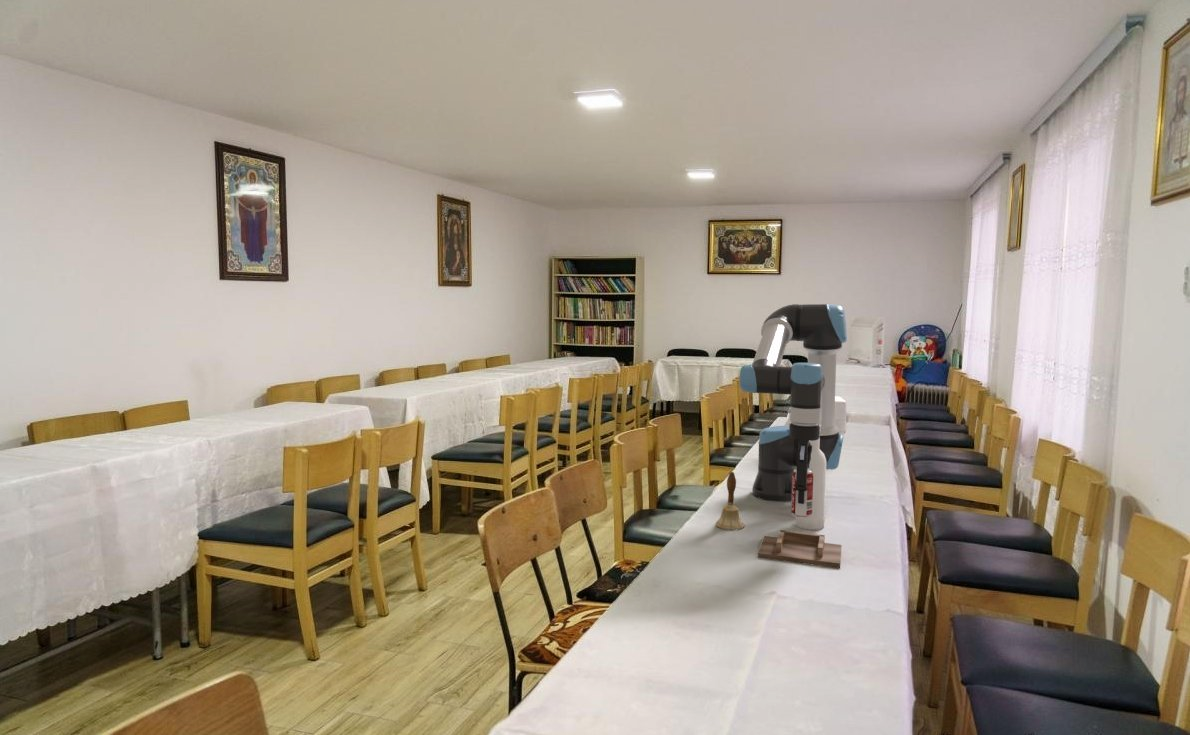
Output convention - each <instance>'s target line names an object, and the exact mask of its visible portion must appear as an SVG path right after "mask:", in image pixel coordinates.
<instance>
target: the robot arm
mask: <svg viewBox="0 0 1190 735" xmlns="http://www.w3.org/2000/svg"><path fill="white" fill-rule="evenodd" d="M847 332H848V331H847V322H846V315H845V310H844V308H843V306H841V305H837V304H828V303H822V304H821V303H819V304H815V303H814V304H808V303H806V304H805V303H804V304H798V303H796V304H795V303H794V304H793V303H792V304H788V305H784V306H782V307H780V308H779V309H776V310H775V311H773V312H772V313H771V314H770V315H769V316H768V317H767V318H765V320H764V322H763V324H762V326H761V331H760V334H761V337H760V338H761V339H760V341H759V344H758V347H757V349H756V352H755V356H754V358H753V361H752V363H751V364H749V365H748V364H747V365H746V364H744V365H741V368H740V370H739V388H740V390H741V391H742V392H746V393H753V394H774V395H776V394H777V395H790V404H789V409H787V414H789V413H791V414H790V421H791V422H792V423H791V424H790V425H789V426H784V425H777V426H775V425H774V426H769V427H765V428H763V429H762V430H760V432H759V438H758V439H759V440H758V443H757V444H758V461H757V462H758V468H757V470H758V471H757V474H756V477H755V479H754V481H753V484H752V488H751V489H752V490H751V491H752V492H751V493H752V496H753V497H756V498H758V499H761V500H766V501H770V502H771V501H772V502H773V501H774V502H791V501H792V473H793V472H794V468H797V472H796V487H795V488H793V490H796V505H795V515H800V516H806V512H807V470H808V468H809V464H810V460H811V452H812V445H811V444H810V443H809V440H811V441H814V440H818V439H819V437H820V443H819V449H820V450H821V451H822V452H823V453H824V455H825V458H826V470H831V471H832V470H833V471H834V470H836V469H837V468H838V467H839V464H840V459H841V453H842V447H843V443H844V436H845V435H841V434H839V428H838V427H837V426H836V425H835V424H834V417H835V397H836V378H837V353H838V352H839V351H841V349H842V347H843V344H844V343H847V341H848V333H847ZM791 341H793V342H796V341H797V342H803V343H802V345H803V349H804V350H806V352H807V362H794V363H793V364H792V365H791V366H781V363H782V361H783V358H784V357H783V356H784V354H785V351H786V347H787V344H788V343H789V342H791ZM819 425H820V426H819ZM820 430H821V431H820Z"/></svg>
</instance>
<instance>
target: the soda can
mask: <svg viewBox="0 0 1190 735" xmlns="http://www.w3.org/2000/svg"><path fill="white" fill-rule="evenodd" d="M796 472H797V467H794V472H793V473H792V500H790V502H791V503H790V505H791V506H790V508H791V509H790V512H791V514H792V516H794V517H796V516H797V517H810V516H811V515H812V502H813V473H812V469H809V468H808V470H807V512H806V516H800V515H795V505H796V490H793V488H795V487H796Z"/></svg>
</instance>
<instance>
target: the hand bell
mask: <svg viewBox="0 0 1190 735" xmlns="http://www.w3.org/2000/svg"><path fill="white" fill-rule="evenodd" d="M736 487H737V479H736V475H735V472H734V471H729V473H728V477H727V480H726V488H727V492H728V494H727V504H726V505H724V506H723V507H722V510H721V515H720V517H719V518H718V520H717V521H716V522H715V526H716V527H717V528H720V529H722V530H729V531H739V530H742V529H744V528H745V524H744V522H743V521H742V519H741V518H740V514H739V513H740V512H739V508H738V507H737V506H735V504H734V502H735V498H734V497H735V496H734V495H735V490H736ZM743 527H744V528H743ZM736 529H737V530H736ZM738 529H739V530H738Z"/></svg>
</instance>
